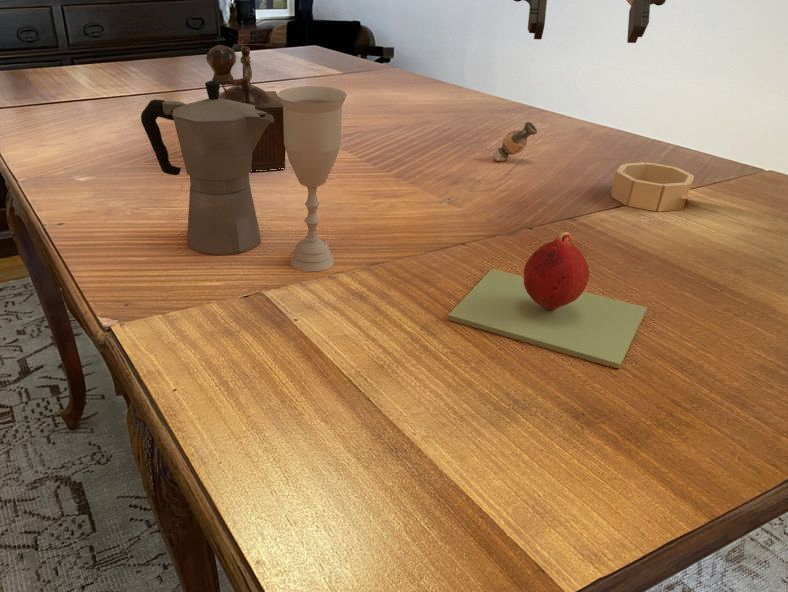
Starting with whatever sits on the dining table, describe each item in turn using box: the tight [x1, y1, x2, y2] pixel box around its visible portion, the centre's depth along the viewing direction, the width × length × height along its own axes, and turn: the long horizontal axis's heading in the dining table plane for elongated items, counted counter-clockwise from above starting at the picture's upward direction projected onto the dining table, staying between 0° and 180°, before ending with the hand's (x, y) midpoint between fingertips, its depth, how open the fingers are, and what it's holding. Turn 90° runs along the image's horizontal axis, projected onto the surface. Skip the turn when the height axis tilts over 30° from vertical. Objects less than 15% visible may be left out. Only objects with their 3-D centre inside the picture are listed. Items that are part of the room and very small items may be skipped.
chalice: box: [277, 85, 348, 272], centre depth 74 cm, size 7×7×18 cm
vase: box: [492, 121, 538, 162], centre depth 109 cm, size 5×5×6 cm
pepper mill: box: [205, 44, 286, 171], centre depth 102 cm, size 16×11×18 cm
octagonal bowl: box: [610, 161, 695, 213], centre depth 96 cm, size 9×9×4 cm
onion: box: [523, 231, 590, 311], centre depth 66 cm, size 6×6×8 cm
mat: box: [447, 268, 648, 369], centre depth 69 cm, size 16×12×1 cm
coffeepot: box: [140, 79, 274, 256], centre depth 79 cm, size 15×9×18 cm, turn 75°
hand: (586, 35), depth 66 cm, fingers open, 8 cm apart
